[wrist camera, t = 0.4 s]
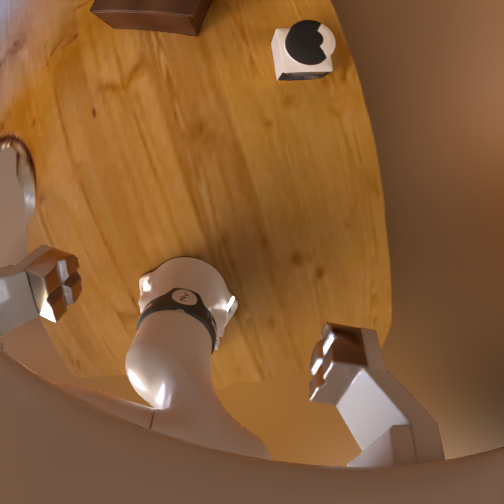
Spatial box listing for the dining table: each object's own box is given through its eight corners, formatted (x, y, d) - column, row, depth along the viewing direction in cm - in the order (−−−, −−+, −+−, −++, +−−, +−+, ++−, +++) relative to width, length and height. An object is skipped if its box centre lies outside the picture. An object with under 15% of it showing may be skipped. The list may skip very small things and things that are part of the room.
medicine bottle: (276, 81, 40) (288, 64, 29) (270, 42, 37) (280, 14, 26) (320, 79, 40) (345, 63, 28) (314, 41, 37) (336, 15, 26)
